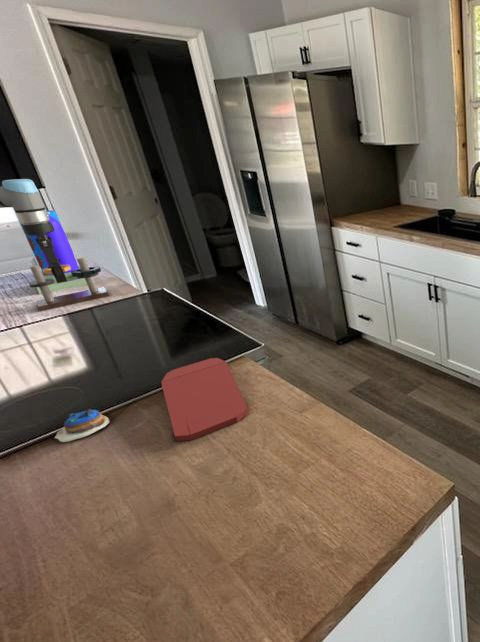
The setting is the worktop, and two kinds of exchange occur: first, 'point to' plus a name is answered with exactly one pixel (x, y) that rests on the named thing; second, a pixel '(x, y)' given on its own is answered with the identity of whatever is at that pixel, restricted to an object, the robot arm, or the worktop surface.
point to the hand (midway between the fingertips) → (62, 281)
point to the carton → (202, 398)
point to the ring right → (84, 273)
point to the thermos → (36, 248)
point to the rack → (68, 299)
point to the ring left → (64, 267)
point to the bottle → (60, 246)
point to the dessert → (82, 425)
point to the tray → (64, 283)
